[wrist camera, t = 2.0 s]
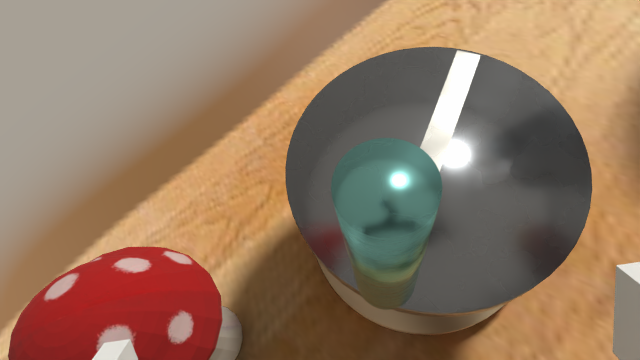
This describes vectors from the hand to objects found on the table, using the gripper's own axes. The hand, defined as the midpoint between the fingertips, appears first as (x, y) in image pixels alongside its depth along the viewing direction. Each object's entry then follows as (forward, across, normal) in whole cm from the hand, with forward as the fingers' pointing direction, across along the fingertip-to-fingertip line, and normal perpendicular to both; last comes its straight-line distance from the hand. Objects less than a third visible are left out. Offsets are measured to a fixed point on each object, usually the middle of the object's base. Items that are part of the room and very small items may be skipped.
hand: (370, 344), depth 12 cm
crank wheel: (+18, +5, -4) cm, 19 cm away
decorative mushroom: (+16, -12, -11) cm, 23 cm away
